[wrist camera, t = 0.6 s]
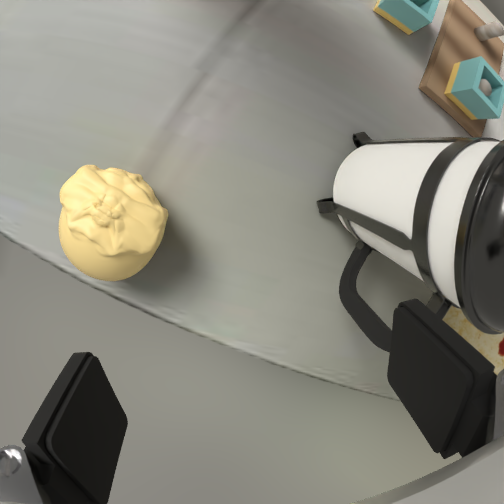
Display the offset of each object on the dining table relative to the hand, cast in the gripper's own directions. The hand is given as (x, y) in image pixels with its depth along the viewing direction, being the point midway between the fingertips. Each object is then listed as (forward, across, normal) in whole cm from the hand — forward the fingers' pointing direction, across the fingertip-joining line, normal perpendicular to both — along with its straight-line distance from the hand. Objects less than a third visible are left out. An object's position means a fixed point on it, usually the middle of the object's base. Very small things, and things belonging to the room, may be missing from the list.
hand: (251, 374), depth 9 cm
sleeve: (+29, -27, -26) cm, 47 cm away
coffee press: (+29, -17, +1) cm, 34 cm away
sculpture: (+29, +13, -2) cm, 32 cm away
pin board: (+29, -38, -19) cm, 52 cm away
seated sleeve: (+27, -34, -14) cm, 46 cm away
